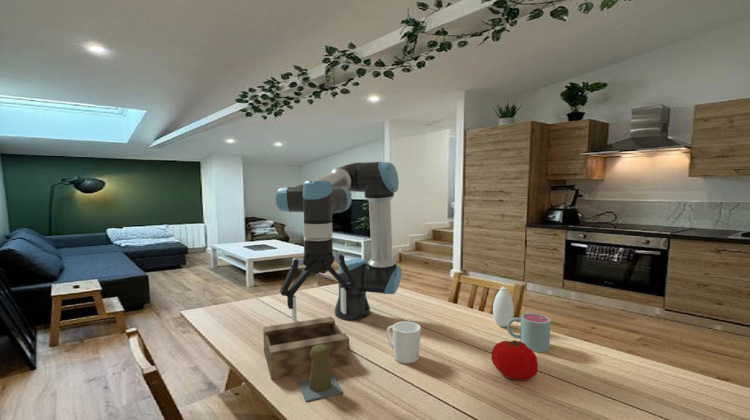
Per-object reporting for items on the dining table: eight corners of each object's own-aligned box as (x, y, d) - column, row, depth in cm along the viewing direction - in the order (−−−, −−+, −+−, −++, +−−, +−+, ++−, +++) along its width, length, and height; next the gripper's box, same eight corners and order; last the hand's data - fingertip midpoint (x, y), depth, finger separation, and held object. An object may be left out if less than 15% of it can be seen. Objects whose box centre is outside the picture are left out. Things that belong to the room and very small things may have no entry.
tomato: (534, 390, 96) (536, 354, 95) (486, 377, 102) (487, 342, 102) (540, 372, 105) (541, 338, 104) (496, 360, 112) (497, 329, 111)
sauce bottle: (491, 328, 137) (492, 282, 136) (493, 321, 144) (494, 277, 143) (513, 331, 134) (514, 284, 133) (513, 323, 141) (515, 279, 140)
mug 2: (548, 343, 124) (549, 315, 124) (549, 354, 116) (550, 324, 115) (507, 336, 130) (508, 309, 129) (505, 346, 122) (506, 318, 121)
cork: (326, 393, 94) (326, 353, 93) (305, 390, 95) (304, 350, 94) (334, 380, 100) (333, 342, 99) (313, 378, 101) (313, 341, 100)
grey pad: (332, 374, 104) (332, 373, 104) (342, 393, 94) (342, 391, 94) (297, 382, 100) (297, 380, 100) (305, 402, 90) (305, 400, 90)
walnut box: (331, 338, 128) (331, 316, 128) (349, 363, 110) (349, 338, 110) (263, 350, 119) (263, 327, 118) (271, 379, 101) (270, 352, 100)
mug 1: (422, 353, 116) (423, 323, 116) (417, 367, 108) (417, 334, 107) (390, 348, 120) (390, 319, 119) (382, 361, 112) (382, 329, 111)
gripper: (357, 233, 102) (357, 305, 104) (268, 239, 93) (270, 318, 94) (367, 237, 96) (367, 313, 97) (271, 244, 86) (273, 328, 87)
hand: (319, 316), depth 96 cm, fingers open, 13 cm apart
